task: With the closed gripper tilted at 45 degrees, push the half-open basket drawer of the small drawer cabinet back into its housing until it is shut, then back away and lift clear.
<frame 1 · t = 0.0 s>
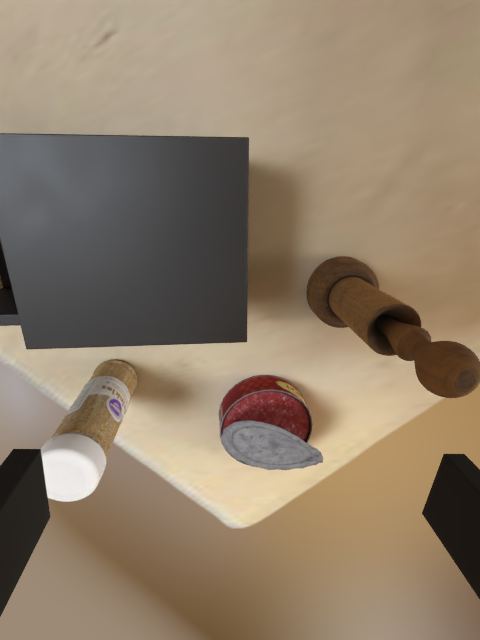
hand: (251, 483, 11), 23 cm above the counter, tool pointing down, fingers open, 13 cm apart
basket: (15, 242, 25), point 5 cm above the counter, slide at 7.0 cm
small drawer cabinet: (155, 233, 30), on the counter
canned food: (262, 412, 38), on the counter
sprinkles bottle: (116, 376, 35), on the counter
mortar and pestle: (337, 288, 34), on the counter
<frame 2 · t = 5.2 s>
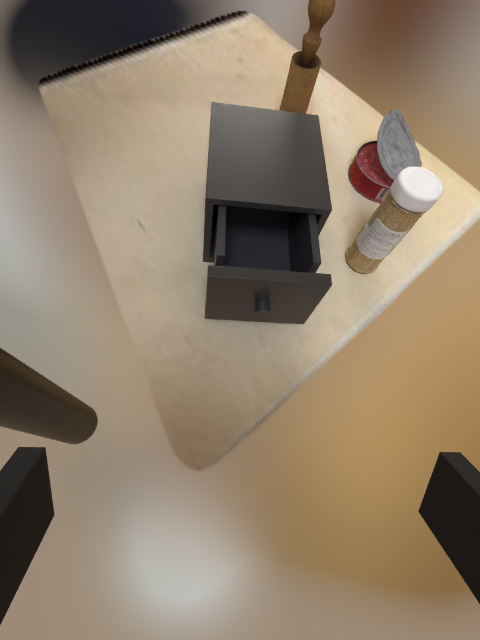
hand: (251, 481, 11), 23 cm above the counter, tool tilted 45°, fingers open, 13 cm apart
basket: (260, 253, 37), point 5 cm above the counter, slide at 7.0 cm
small drawer cabinet: (252, 220, 45), on the counter
canned food: (378, 180, 52), on the counter
sprinkles bottle: (360, 261, 45), on the counter
mortar and pestle: (285, 138, 53), on the counter
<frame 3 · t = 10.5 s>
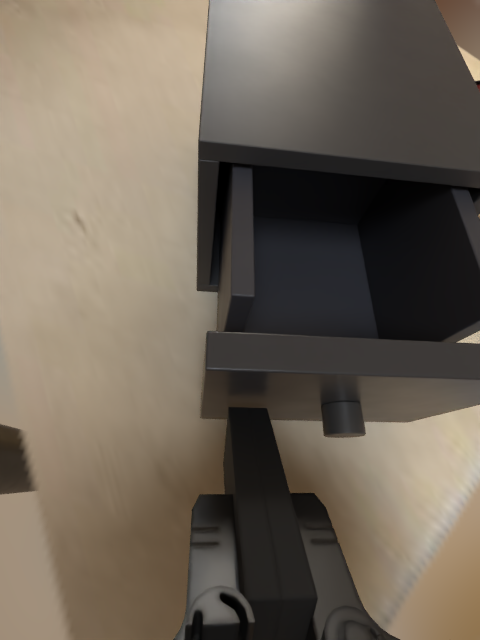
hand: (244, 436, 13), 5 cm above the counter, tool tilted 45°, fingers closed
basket: (324, 277, 16), point 5 cm above the counter, slide at 6.8 cm, touching gripper
small drawer cabinet: (286, 211, 25), on the counter
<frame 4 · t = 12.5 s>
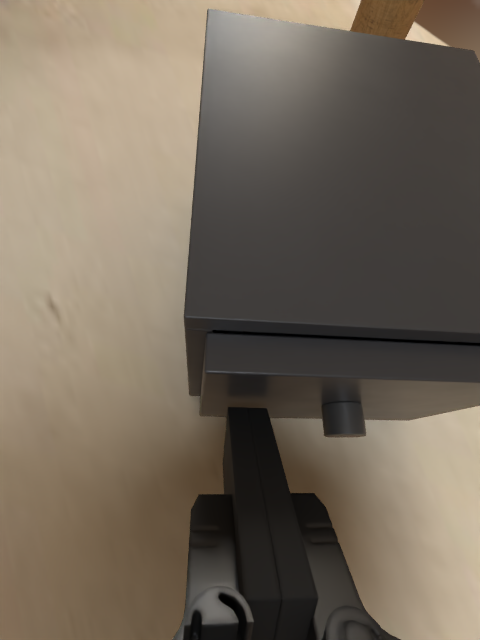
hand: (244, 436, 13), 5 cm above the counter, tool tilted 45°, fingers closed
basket: (326, 274, 16), point 5 cm above the counter, slide at 0.0 cm, touching small drawer cabinet, gripper
small drawer cabinet: (293, 285, 22), on the counter
mortar and pestle: (341, 117, 30), on the counter
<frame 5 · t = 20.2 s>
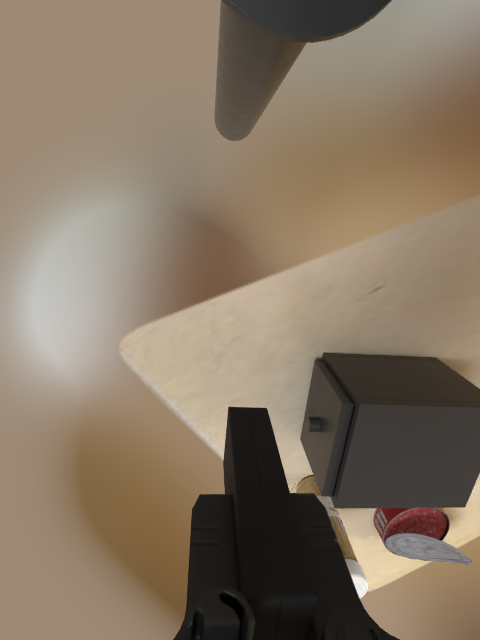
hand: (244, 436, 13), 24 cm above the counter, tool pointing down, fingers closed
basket: (370, 425, 38), point 5 cm above the counter, slide at 0.0 cm, touching small drawer cabinet
small drawer cabinet: (369, 399, 43), on the counter
canned food: (404, 512, 51), on the counter
sprinkles bottle: (310, 485, 47), on the counter
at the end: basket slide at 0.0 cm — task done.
